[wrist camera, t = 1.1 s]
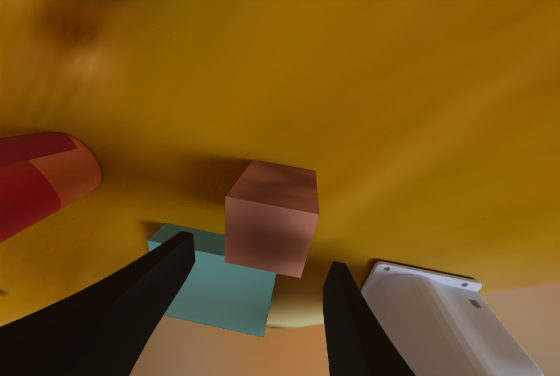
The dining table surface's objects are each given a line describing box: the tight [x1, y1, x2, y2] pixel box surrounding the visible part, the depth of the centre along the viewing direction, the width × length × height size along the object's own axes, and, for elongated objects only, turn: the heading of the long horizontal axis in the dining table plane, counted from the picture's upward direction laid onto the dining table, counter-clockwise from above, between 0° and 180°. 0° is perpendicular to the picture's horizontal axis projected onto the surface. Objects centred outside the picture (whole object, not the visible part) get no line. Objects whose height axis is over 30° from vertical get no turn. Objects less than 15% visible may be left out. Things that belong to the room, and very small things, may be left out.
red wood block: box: [224, 160, 319, 278], centre depth 14 cm, size 5×5×6 cm
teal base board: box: [147, 223, 276, 337], centre depth 22 cm, size 12×12×3 cm
